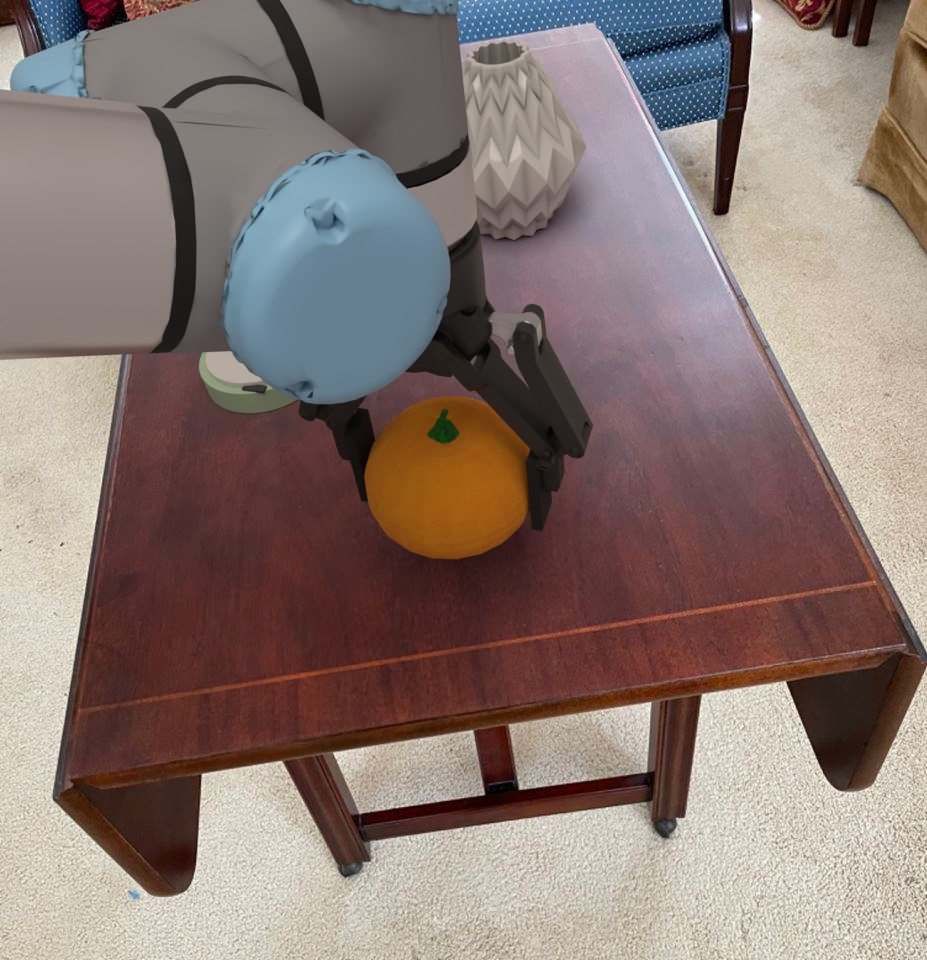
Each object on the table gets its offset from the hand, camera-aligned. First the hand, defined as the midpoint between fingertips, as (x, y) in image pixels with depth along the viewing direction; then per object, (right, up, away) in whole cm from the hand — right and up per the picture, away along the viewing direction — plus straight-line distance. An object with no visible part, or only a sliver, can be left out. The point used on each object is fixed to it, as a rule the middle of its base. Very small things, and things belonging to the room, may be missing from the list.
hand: (455, 501), depth 66 cm
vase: (+6, +30, +39) cm, 50 cm away
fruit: (0, -1, +1) cm, 2 cm away
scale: (-19, +12, +26) cm, 34 cm away
